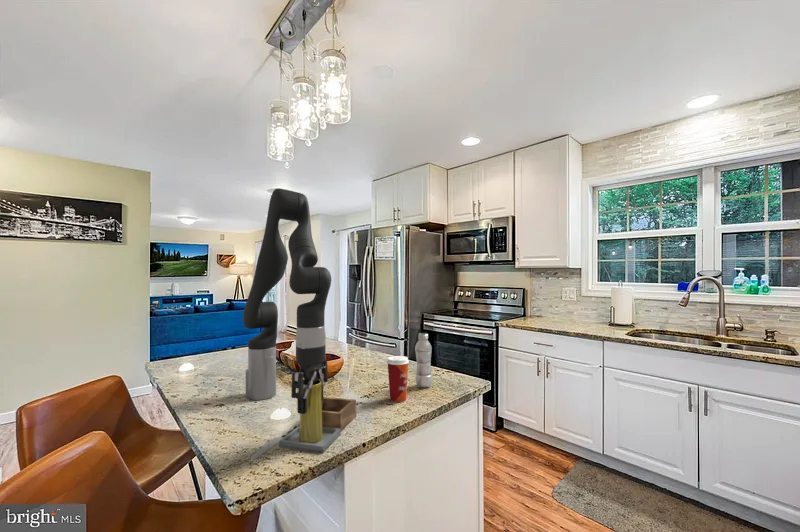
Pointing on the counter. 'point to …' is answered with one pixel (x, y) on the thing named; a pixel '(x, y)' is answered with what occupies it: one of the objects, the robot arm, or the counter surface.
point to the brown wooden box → (337, 412)
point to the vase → (312, 416)
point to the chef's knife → (269, 445)
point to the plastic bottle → (423, 361)
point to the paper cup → (398, 377)
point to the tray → (319, 446)
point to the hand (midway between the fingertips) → (311, 406)
